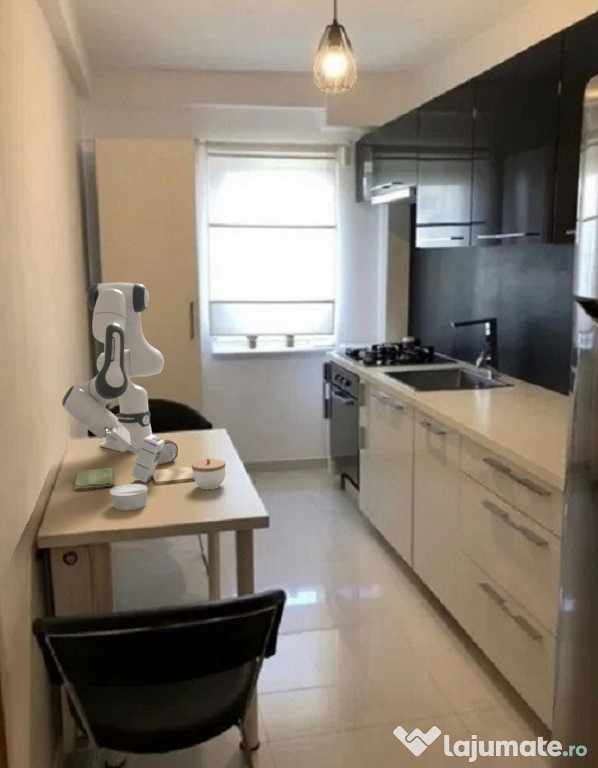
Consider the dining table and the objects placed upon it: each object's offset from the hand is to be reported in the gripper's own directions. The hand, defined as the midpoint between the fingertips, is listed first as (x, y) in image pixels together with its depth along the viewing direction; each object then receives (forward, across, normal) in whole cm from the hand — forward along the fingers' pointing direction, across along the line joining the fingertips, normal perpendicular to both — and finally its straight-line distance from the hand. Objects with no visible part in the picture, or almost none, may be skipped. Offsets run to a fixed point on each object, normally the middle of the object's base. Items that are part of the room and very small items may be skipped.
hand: (138, 451), depth 238 cm
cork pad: (+15, +1, -1) cm, 15 cm away
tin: (+12, +19, +2) cm, 23 cm away
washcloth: (-3, +5, +18) cm, 19 cm away
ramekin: (+5, -24, +10) cm, 27 cm away
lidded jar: (+23, -14, -8) cm, 28 cm away
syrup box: (+7, +1, +6) cm, 9 cm away
